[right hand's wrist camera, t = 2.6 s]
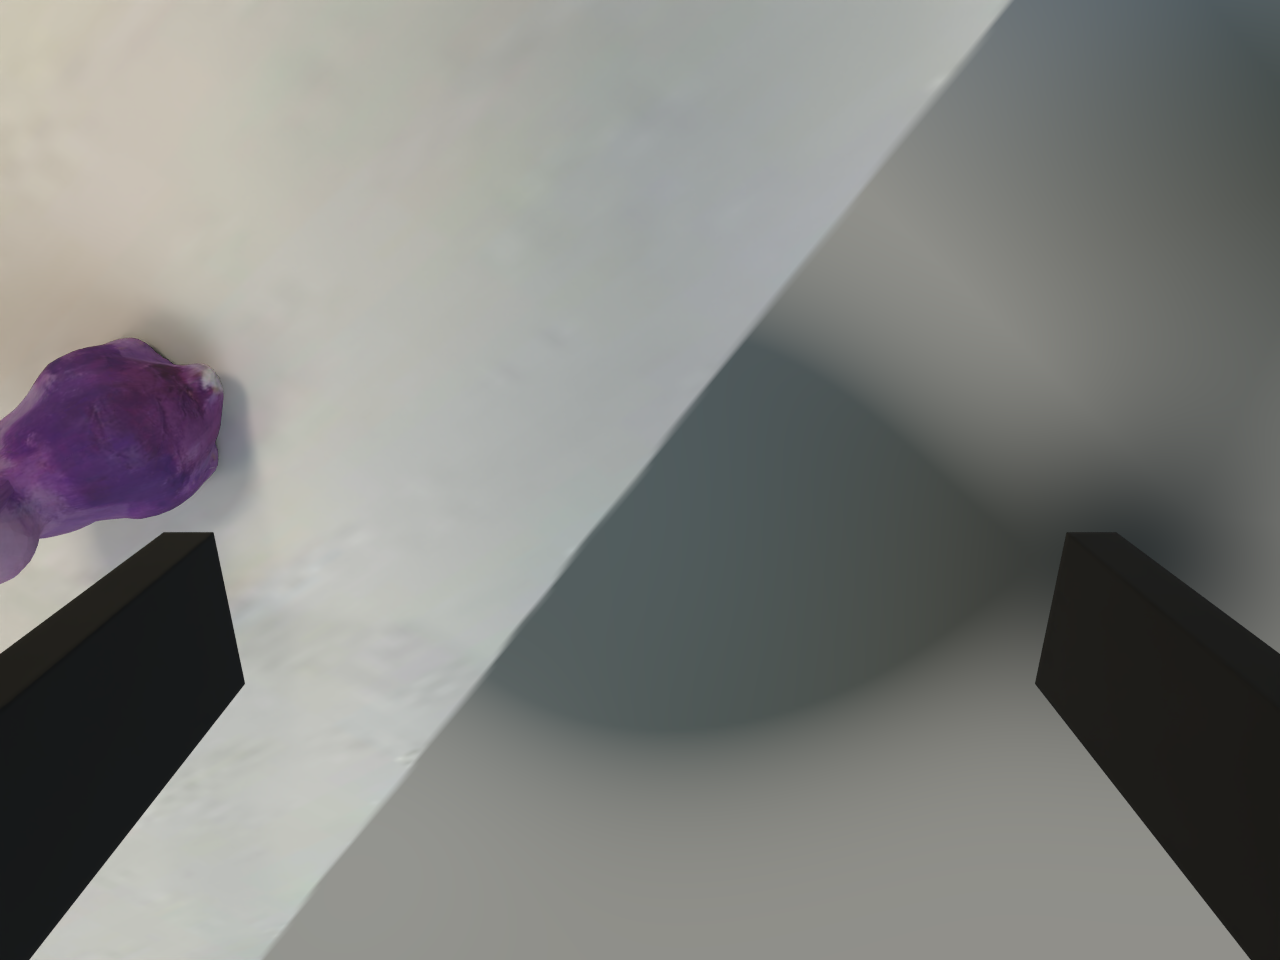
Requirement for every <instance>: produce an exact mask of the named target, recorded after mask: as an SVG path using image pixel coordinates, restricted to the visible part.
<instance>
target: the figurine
mask: <svg viewBox="0 0 1280 960" xmlns="http://www.w3.org/2000/svg"><path fill="white" fill-rule="evenodd" d="M222 406H223V388H222V384H221V382H220V379H219V377H218V376H217V374H216V373H215V371H214V370H213V369H212V368H211V367H209V366H208V365H205V364H203V363H197V364H189V365H174V364H173V363H171V362H170V361H169V360H168V359H165V358H163V357H162V356H161V355H160V354H158V353H156V352H155V351H154V350H153V349H152V348H151V347H150V346H149V345H148V344H146V343H144V342H142V341H141V340H139V339H135V338H123V339H118V340H114V341H112V342H109V343H106V344H104V345H99V346H93V347H87V348H83V349H79V350H76V351H73V352H71V353H69V354H66V355H64V356H62V357H60V358H58V359H56V360H55V361H53V362H51V363H50V364H48V365H47V367H46V368H45V369H44V370H43V371H42V373H41V374H40V375H39V377H38V378H37V380H36V381H35V383H34V384H33V386H32V388H31V389H30V391H29V393H28V394H27V396H26V397H25V398H24V399H23V401H22V402H21V403H20V404H19V405H18V406H17V407H16V408H15V409H14V410H13V411H12V412H11V413H10V414H8V415H7V416H6V417H4V418H3V419H2V420H1V421H0V584H1V583H4V582H6V581H8V580H10V579H12V578H14V577H15V576H17V575H18V574H19V573H20V571H21V570H22V569H23V568H25V566H26V565H27V564H28V563H29V562H30V561H31V559H32V557H33V555H34V553H35V551H36V548H37V546H38V542H39V539H40V538H48V537H53V536H58V535H62V534H66V533H69V532H72V531H75V530H78V529H81V528H83V527H85V526H87V525H89V524H91V523H93V522H95V521H100V520H108V519H119V518H131V519H142V518H147V517H151V516H156V515H159V514H162V513H164V512H167V511H170V510H172V509H173V508H175V507H177V506H179V505H180V504H182V503H183V502H184V501H186V500H187V499H188V498H190V497H191V496H192V495H193V494H194V493H195V492H196V491H197V490H198V489H199V488H200V486H201V485H202V484H203V483H204V482H205V481H206V480H207V479H208V478H209V477H210V476H211V475H212V474H213V472H214V471H215V470H216V468H217V465H218V449H217V447H216V444H215V441H216V439H217V436H218V433H219V429H220V425H221V415H222Z"/></svg>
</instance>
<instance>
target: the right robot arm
mask: <svg viewBox="0 0 1280 960" xmlns="http://www.w3.org/2000/svg"><path fill="white" fill-rule="evenodd" d="M244 684H245V682H244V677H243V672H242V667H241V662H240V658H239V653H238V648H237V643H236V638H235V634H234V629H233V624H232V619H231V614H230V610H229V605H228V600H227V595H226V590H225V586H224V581H223V576H222V571H221V566H220V561H219V557H218V552H217V547H216V542H215V537H214V533H213V532H164V533H162V534H161V535H160V536H158V537H157V538H155V539H154V540H153V541H151V542H150V543H149V544H147V545H146V546H145V547H143V548H142V549H141V550H139V551H138V552H137V553H135V554H134V555H133V556H131V557H130V558H129V559H127V560H126V561H125V562H123V563H122V564H121V565H119V566H118V567H116V568H115V569H114V570H112V571H111V572H110V573H108V574H107V575H106V576H104V577H103V578H102V579H100V580H99V581H98V582H96V583H95V584H94V585H92V586H91V587H90V588H88V589H87V590H86V591H84V592H83V593H82V594H80V595H79V596H77V597H76V598H75V599H73V600H72V601H71V602H69V603H68V604H67V605H65V606H64V607H63V608H61V609H60V610H59V611H57V612H56V613H55V614H53V615H52V616H51V617H49V618H48V619H47V620H45V621H44V622H42V623H41V624H40V625H38V626H37V627H36V628H34V629H33V630H32V631H30V632H29V633H28V634H26V635H25V636H24V637H22V638H21V639H20V640H18V641H17V642H16V643H14V644H13V645H12V646H10V647H9V648H8V649H6V650H5V651H3V652H2V653H1V654H0V960H29V959H30V958H31V957H32V956H33V954H34V953H35V952H36V950H37V949H38V948H39V947H40V945H41V944H42V943H43V941H44V940H45V939H46V938H47V936H48V935H49V934H50V933H51V931H52V930H53V929H54V927H55V926H56V925H57V924H58V922H59V921H60V920H61V918H62V917H63V916H64V915H65V913H66V912H67V911H68V909H69V908H70V907H71V906H72V904H73V903H74V902H75V901H76V899H77V898H78V897H79V895H80V894H81V893H82V892H83V890H84V889H85V888H86V886H87V885H88V884H89V883H90V881H91V880H92V879H93V878H94V876H95V875H96V874H97V872H98V871H99V870H100V869H101V867H102V866H103V865H104V863H105V862H106V861H107V860H108V858H109V857H110V856H111V854H112V853H113V852H114V851H115V849H116V848H117V847H118V846H119V844H120V843H121V842H122V840H123V839H124V838H125V837H126V835H127V834H128V833H129V831H130V830H131V829H132V828H133V826H134V825H135V824H136V822H137V821H138V820H139V819H140V817H141V816H142V815H143V814H144V812H145V811H146V810H147V808H148V807H149V806H150V805H151V803H152V802H153V801H154V799H155V798H156V797H157V796H158V794H159V793H160V792H161V791H162V789H163V788H164V787H165V785H166V784H167V783H168V782H169V780H170V779H171V778H172V776H173V775H174V774H175V773H176V771H177V770H178V769H179V767H180V766H181V765H182V764H183V762H184V761H185V760H186V759H187V757H188V756H189V755H190V753H191V752H192V751H193V750H194V748H195V747H196V746H197V744H198V743H199V742H200V741H201V739H202V738H203V737H204V735H205V734H206V733H207V732H208V730H209V729H210V728H211V727H212V725H213V724H214V723H215V721H216V720H217V719H218V718H219V716H220V715H221V714H222V712H223V711H224V710H225V709H226V707H227V706H228V705H229V703H230V702H231V701H232V700H233V698H234V697H235V696H236V695H237V693H238V692H239V691H240V689H241V688H242V687H243V686H244ZM1035 684H1036V686H1037V687H1038V688H1039V689H1040V691H1041V692H1042V693H1043V695H1044V696H1045V697H1046V698H1047V700H1048V701H1049V702H1050V703H1051V705H1052V706H1053V707H1054V709H1055V710H1056V711H1057V712H1058V714H1059V715H1060V716H1061V718H1062V719H1063V720H1064V721H1065V723H1066V724H1067V725H1068V727H1069V728H1070V729H1071V730H1072V732H1073V733H1074V734H1075V735H1076V737H1077V738H1078V739H1079V741H1080V742H1081V743H1082V744H1083V746H1084V747H1085V748H1086V749H1087V751H1088V752H1089V753H1090V755H1091V756H1092V757H1093V758H1094V760H1095V761H1096V762H1097V764H1098V765H1099V766H1100V767H1101V769H1102V770H1103V771H1104V773H1105V774H1106V775H1107V776H1108V778H1109V779H1110V780H1111V782H1112V783H1113V784H1114V785H1115V787H1116V788H1117V789H1118V790H1119V792H1120V793H1121V794H1122V796H1123V797H1124V798H1125V799H1126V801H1127V802H1128V803H1129V805H1130V806H1131V807H1132V808H1133V810H1134V811H1135V812H1136V814H1137V815H1138V816H1139V817H1140V819H1141V820H1142V821H1143V822H1144V824H1145V825H1146V826H1147V828H1148V829H1149V830H1150V831H1151V833H1152V834H1153V835H1154V837H1155V838H1156V839H1157V840H1158V842H1159V843H1160V844H1161V846H1162V847H1163V848H1164V849H1165V851H1166V852H1167V853H1168V854H1169V856H1170V857H1171V858H1172V860H1173V861H1174V862H1175V863H1176V865H1177V866H1178V867H1179V869H1180V870H1181V871H1182V872H1183V874H1184V875H1185V876H1186V878H1187V879H1188V880H1189V881H1190V883H1191V884H1192V885H1193V886H1194V888H1195V889H1196V890H1197V892H1198V893H1199V894H1200V895H1201V897H1202V898H1203V899H1204V901H1205V902H1206V903H1207V904H1208V906H1209V907H1210V908H1211V909H1212V911H1213V912H1214V913H1215V915H1216V916H1217V917H1218V918H1219V920H1220V921H1221V922H1222V924H1223V925H1224V926H1225V927H1226V929H1227V930H1228V931H1229V932H1230V934H1231V935H1232V936H1233V938H1234V939H1235V940H1236V941H1237V943H1238V944H1239V945H1240V947H1241V948H1242V949H1243V950H1244V952H1245V953H1246V954H1247V956H1248V957H1249V958H1250V959H1251V960H1280V654H1279V653H1278V652H1277V651H1275V650H1274V649H1272V648H1271V647H1270V646H1268V645H1267V644H1266V643H1264V642H1263V641H1262V640H1260V639H1259V638H1258V637H1256V636H1255V635H1254V634H1252V633H1251V632H1250V631H1248V630H1247V629H1246V628H1244V627H1243V626H1242V625H1240V624H1239V623H1237V622H1236V621H1235V620H1233V619H1232V618H1231V617H1229V616H1228V615H1227V614H1225V613H1224V612H1223V611H1221V610H1220V609H1219V608H1217V607H1216V606H1215V605H1213V604H1212V603H1211V602H1209V601H1208V600H1207V599H1205V598H1204V597H1202V596H1201V595H1200V594H1198V593H1197V592H1196V591H1194V590H1193V589H1192V588H1190V587H1189V586H1188V585H1186V584H1185V583H1184V582H1182V581H1181V580H1180V579H1178V578H1177V577H1176V576H1174V575H1173V574H1172V573H1170V572H1169V571H1168V570H1166V569H1165V568H1163V567H1162V566H1161V565H1159V564H1158V563H1157V562H1155V561H1154V560H1153V559H1151V558H1150V557H1149V556H1147V555H1146V554H1145V553H1143V552H1142V551H1141V550H1139V549H1138V548H1137V547H1135V546H1134V545H1133V544H1131V543H1130V542H1129V541H1127V540H1126V539H1125V538H1123V537H1122V536H1120V535H1119V534H1118V533H1116V532H1067V533H1066V537H1065V542H1064V547H1063V552H1062V557H1061V561H1060V566H1059V571H1058V576H1057V581H1056V586H1055V590H1054V595H1053V600H1052V605H1051V610H1050V614H1049V619H1048V624H1047V629H1046V634H1045V638H1044V643H1043V648H1042V653H1041V658H1040V662H1039V667H1038V672H1037V677H1036V682H1035Z"/></svg>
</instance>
